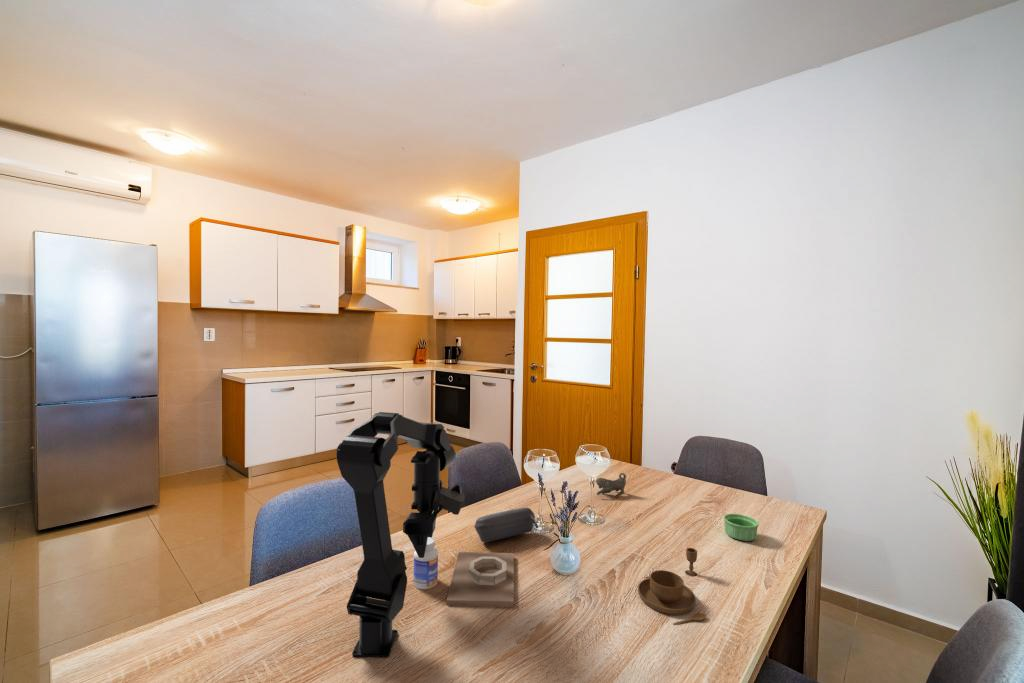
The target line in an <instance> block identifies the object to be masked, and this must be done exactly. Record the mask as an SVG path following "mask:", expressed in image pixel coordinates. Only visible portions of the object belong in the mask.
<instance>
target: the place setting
mask: <svg viewBox="0 0 1024 683" xmlns="http://www.w3.org/2000/svg"><path fill="white" fill-rule="evenodd" d="M685 553H686V554H685V555H686V560H687V561H688V562H689V565H688V570H685V571H684V573H685V574H686V576H690V577H698V573H697V572H696V571H695V570H694V569H695V568H694V563H696V562H697V560H698V550H697V549H696V548H693V547H687V548H686V551H685ZM693 570H694V571H693ZM637 593H638V595H639V598H640V599H641V601H642V602H643V603H644V604H645V605H646V606H648V607H649V608H650V609H653V610H654V611H657V612H659V613H662V614H667V615H673V616H675V615H676V616H677V615H684V614H687V613H689V612H691V611H692V610H694V608H695V606H696V603H697V602H696V601H697V598H696V595H695V593H694V591H693V590H691V589H690V588H689V587H687V586H686V585H685V584H684V580H683V578H682V577H681V576H680V575H678V574H677V573H674V572H672V571H669V570H663V569H660V570H658V569H657V570H654V571H653V572H651V573H650V575H649V576H645V577H644V579H643V580H642V581H640V582H639V583H638V584H637ZM706 618H707V615H706V613H703V612H700V613H699V612H698V613H694V614H693V615H692V616H691V617H690V618H689V617H688V618H686V619H683V620H679V621H676V622H674V623H672V625H673V626H679V625H681V624H684V623H688V622H690V621H695V622H699V621H703V620H705V619H706Z"/></svg>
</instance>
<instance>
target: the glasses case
mask: <svg viewBox="0 0 1024 683" xmlns="http://www.w3.org/2000/svg"><path fill="white" fill-rule="evenodd" d="M536 521H537V520H536V515H535V513H534V511H533V510H532V509H531V508H530V507H520V508H512V509H511V508H510V509H506V510H503V511H499V512H498V511H497V512H493V513H491V514H487V515H486V514H485V515H483V516H479V517H478V518H477V519H476V521H475V524H474V529H475V531H476V533H477V535H478V537H479V540H480V541H481V542H482V543H490V542H494V541H498V540H502V539H507V538H511V537H515V536H518V535H521V534H522V535H524V534H527V533H531V532H532V531H533V528H534V526H535V528H536V529H539V526H538V523H537V522H536Z"/></svg>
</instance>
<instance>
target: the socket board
mask: <svg viewBox="0 0 1024 683" xmlns="http://www.w3.org/2000/svg"><path fill="white" fill-rule="evenodd" d="M514 558H515V553H514V552H484V551H483V552H473V551H469V552H468V551H459V552H458V553H457V556H456V562H455V564H454V570H453V572H452V573H453V574H452V578H451V581H450V585H449V589H448V592H447V597H446V606H458V607H459V606H462V607H463V606H464V607H465V606H466V607H493V608H494V607H495V608H496V607H498V608H500V607H501V608H514V605H515V603H514V602H515V599H514V598H515V597H514V596H515V595H514V594H515V593H514V592H515V590H514V589H515V585H514V584H515V583H514V582H515V576H514V575H515V567H514V566H515V561H514V560H515V559H514Z"/></svg>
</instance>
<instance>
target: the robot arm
mask: <svg viewBox="0 0 1024 683" xmlns="http://www.w3.org/2000/svg"><path fill="white" fill-rule="evenodd" d="M378 434H380V435H387V436H388V437H387V438H384V437H377V435H378ZM398 439H403V440H406V441H407V444H408V445H409V446H411V448H414V449H421V450H423V451H421V450H416V452H415V454H414V455H413V456H412V457H411V460H410V463H411V464H414V465H413V484H412V485H411V491H412V492H413V502H412V503H411V509H410V510H417V512H410V513H409V514H408V515H407V516H406V518H404V519H405V520H404V521H403V523H402V533H403V534H405V535H406V536H407V537H408V538H409V540H410V542H411V544H412V546H413V548H414V551H415V550H416V553H417V555H418V557H419V558H424V555H425V551H426V545H427V540H428V537H431V538H433V535H434V532H435V529H436V524H437V523H436V522H437V518H438V514H439V513H440V512H442V510H444V511H446V512H447V511H448V512H450V513H451V514H453V515H456V516H457V515H459V514H460V511H461V509H462V507H463V504H464V501H465V498H466V495H465V493H464V492H463V490H462V486H461V485H460V484H458V483H455V484H453V486H451V487H445V486H443V480H442V479H441V478H440V477H441V476H440V475H441V472H442V471H443V470H445V469H446V468H447V467H449V466H450V465H452V464H453V463H454V461H455V459H456V456H457V454H456V452H455V449H454V447H453V446H452V445H451V443H450V439H449V437H448V434H447V431H446V429H445V426H444V425H443V424H442V423H433V422H419V421H417V420H413V419H410V418H409V417H406V416H403V415H402V414H400V413H399V412H386V411H385V412H384V411H379V412H376V413H374V414H373V415H372V417H371V418H370V419H369V420H367V421H366V422H364V423H363V422H362V423H361V424H360V425H358V426H356V427H354V428H352V429H351V430H350V431H349V432H348V433H347V435H346V436H345V437H344V438H343V439H342V440H341V442H340V443H339V444H338V445H337V447H336V448H337V449H336V452H335V453H336V454H335V455H336V463H337V466H338V469H339V472H340V475H341V478H343V479H344V480H345V481H346V483H347V484H348V485H349V486H350V487H351V489H352V490H353V495H354V500H355V502H354V503H355V507H356V513H357V514H356V516H357V520H358V526H359V527H358V528H359V533H360V540H361V546H362V547H361V548H362V553H363V561H362V563H361V564H360V566H359V568H358V570H357V571H356V572H357V573H356V575H357V576H356V577H357V579H356V581H355V584H354V586H353V589H352V592H351V593H350V597H349V598H348V602H347V604H346V611H347V613H348V615H349V616H351V615H353V616H358V617H359V628H358V629H359V631H358V632H359V635H358V636H359V637H358V638H359V639H358V640H357V642H356V645H355V646H354V648H353V651H352V654H351V656H352V657H353V658H354V657H355V658H389V656H390V655H391V652H392V650H393V647H394V645H395V642H396V639H397V637H398V635H399V634H398V633H399V631H398V630H397V629H393V620H394V619H395V618H396V617H397V616H398V615H399V613H400V612H401V611H402V609H403V608H404V604H405V598H406V592H407V584H408V575H407V573H406V571H407V568H408V567H407V565H406V556H405V553H404V551H402V550H398V549H397V550H396V549H393V545H392V537H391V536H392V535H391V531H390V530H391V529H390V523H389V516H388V515H389V514H388V507H387V500H386V493H385V485H384V480H385V477H386V475H387V474H388V472H389V470H390V468H391V462H392V459H393V457H394V456H395V455H396V452H398V450H399V443H398Z"/></svg>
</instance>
